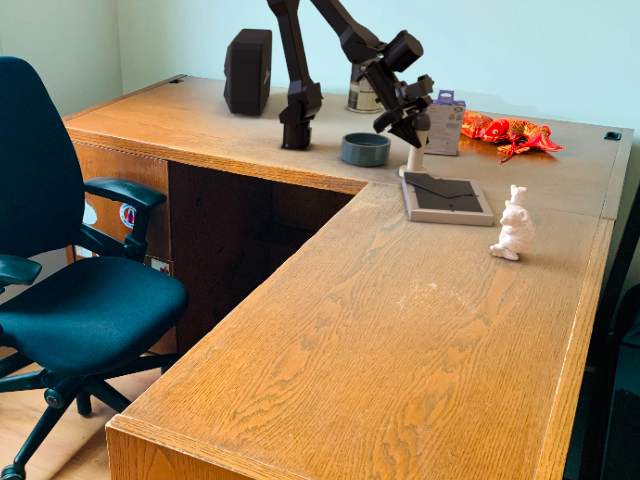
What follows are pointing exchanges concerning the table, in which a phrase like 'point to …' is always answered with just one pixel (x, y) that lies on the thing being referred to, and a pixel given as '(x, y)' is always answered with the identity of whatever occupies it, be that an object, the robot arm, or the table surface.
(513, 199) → the white animal figurine
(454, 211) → the picture frame
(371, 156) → the bowl
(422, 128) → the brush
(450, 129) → the ink cartridge box
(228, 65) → the black hard case
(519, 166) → the table surface
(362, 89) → the coffee can
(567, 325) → the table surface
